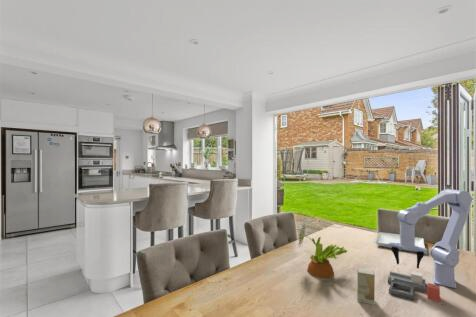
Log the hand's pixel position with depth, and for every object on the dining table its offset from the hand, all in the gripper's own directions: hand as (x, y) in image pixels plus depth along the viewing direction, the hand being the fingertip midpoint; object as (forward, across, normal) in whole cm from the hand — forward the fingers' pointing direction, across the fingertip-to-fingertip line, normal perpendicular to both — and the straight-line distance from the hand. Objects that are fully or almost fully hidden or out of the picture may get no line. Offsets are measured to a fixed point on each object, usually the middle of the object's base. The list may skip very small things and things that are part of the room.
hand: (407, 265), depth 116 cm
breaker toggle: (+7, +3, 0) cm, 8 cm away
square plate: (+9, -10, +60) cm, 61 cm away
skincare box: (+9, -12, -27) cm, 31 cm away
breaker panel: (+8, -1, 0) cm, 8 cm away
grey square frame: (+8, -1, -11) cm, 14 cm away
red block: (+8, +10, -8) cm, 15 cm away
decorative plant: (+9, -35, -14) cm, 39 cm away
